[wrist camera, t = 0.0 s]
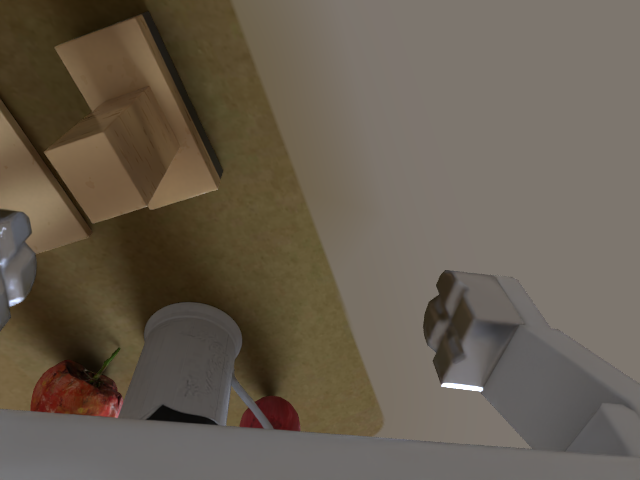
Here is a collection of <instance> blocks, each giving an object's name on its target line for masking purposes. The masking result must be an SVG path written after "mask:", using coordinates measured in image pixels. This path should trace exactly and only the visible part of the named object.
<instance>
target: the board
mask: <svg viewBox="0 0 640 480" xmlns="http://www.w3.org/2000/svg"><path fill="white" fill-rule="evenodd" d="M0 208H1V209H7V210H14V211H20V212H24V213H25V214H26V215H27V216H28V217H29V219H30V224H31V229H32V234H31V235H30V236H29V238H28V239H27V240H26V241H25V242H26V243H27V244H28V246H29V247H30V248H31V249H32V250H33V251H34V252H35V254H37V253H40V252H43V251H47V250H50V249H53V248H56V247H60V246H63V245H66V244H69V243H72V242H76V241H79V240H82V239H85V238H88V237H90V235H91V234H92V231H91V229H90V228H89V226H88V225H87V223H86V222H85V220H84V219H83V217H82V216H81V215H80V213H79V212H78V210H77V209H76V207H75V206H74V204H73V203H72V202H71V200H70V199H69V197H68V196H67V194H66V193H65V191H64V190H63V189H62V187H61V186H60V184H59V183H58V181H57V180H56V178H55V177H54V176H53V174H52V173H51V171H50V170H49V168H48V167H47V165H46V164H45V162H44V161H43V160H42V158H41V157H40V155H39V154H38V152H37V151H36V149H35V148H34V147H33V145H32V144H31V142H30V141H29V139H28V138H27V136H26V135H25V134H24V132H23V131H22V129H21V128H20V126H19V125H18V123H17V122H16V121H15V119H14V118H13V116H12V115H11V113H10V112H9V110H8V109H7V108H6V106H5V105H4V103H3V102H2V100H1V99H0Z"/></svg>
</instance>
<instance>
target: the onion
mask: <svg viewBox="0 0 640 480" xmlns="http://www.w3.org/2000/svg"><path fill="white" fill-rule="evenodd" d="M255 403H256V405H257V406H258V407H259V409H260V410H261V411H262V413H263V414H264V415H265V416H266V418H267V419H268V421H269V422H270V424H271V425H272V426H273V429H276V430H289V431H300V422H299V417H298V414H297V412H296V411H295V409H294V408H293V406H292V405H291V404H290V403H289V402H288V401H286V400H285V399H283V398H281V397H277V396H267V397H263V398H261V399H259V400H257V401H255ZM240 427H249V428H262V429H264V428H263V426H262V425H261V423H260V422H259V420H258V419H257V417H256V416H255V415H254V413H253V412H252V411H251V409H250V408H248V409H247V410H246V411H245V412H244V414H243V416H242V419H241V422H240Z"/></svg>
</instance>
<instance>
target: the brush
mask: <svg viewBox="0 0 640 480" xmlns="http://www.w3.org/2000/svg"><path fill="white" fill-rule="evenodd" d="M55 49H56V51H57V53H58V54H59V56H60V58H61V60H62V61H63V63H64V65H65V66H66V68H67V70H68V71H69V73H70V75H71V76H72V78H73V80H74V82H75V83H76V85H77V87H78V88H79V90H80V92H81V93H82V95H83V97H84V98H85V100H86V102H87V104H88V105H89V107H90V109H91V110H92V112H91V113H90V114H88V115H87V116H86V117H85V118H84V119H82V120H81V121H80V122H79V123H78V124H76V125H75V126H74V127H73V128H72V129H70V130H69V131H68V132H67V133H66V134H64V135H63V136H62V137H61V138H60V139H58V140H57V141H56V142H55V143H54V144H52V145H51V146H50V147H49V148H47V149H46V150H45V151H44V153H45V155H46V156H47V158H48V159H49V161H50V162H51V164H52V165H53V166H54V168H55V169H56V171H57V172H58V174H59V175H60V177H61V178H62V180H63V181H64V183H65V184H66V185H67V187H68V188H69V190H70V191H71V193H72V194H73V196H74V197H75V199H76V200H77V202H78V203H79V205H80V206H81V207H82V209H83V210H84V212H85V213H86V215H87V216H88V218H89V219H90V221H91V222H92V223H97V222H100V221H103V220H106V219H109V218H113V217H116V216H119V215H122V214H125V213H128V212H132V211H135V210H138V209H141V208H144V207H147V206H148V207H149V209H150V210H153V209H156V208H159V207H162V206H166V205H169V204H172V203H175V202H178V201H182V200H185V199H188V198H191V197H194V196H197V195H201V194H204V193H207V192H210V191H213V190H217V189H218V187H219V183H220V179H221V176H222V173H223V170H222V167H221V165H220V163H219V161H218V159H217V157H216V155H215V152H214V150H213V148H212V146H211V144H210V142H209V139H208V137H207V135H206V133H205V131H204V129H203V127H202V124H201V122H200V120H199V118H198V116H197V114H196V112H195V109H194V107H193V105H192V103H191V101H190V99H189V97H188V94H187V92H186V90H185V88H184V86H183V84H182V81H181V79H180V77H179V75H178V73H177V71H176V69H175V66H174V64H173V62H172V60H171V58H170V56H169V54H168V51H167V49H166V47H165V45H164V43H163V41H162V38H161V36H160V34H159V32H158V30H157V28H156V26H155V23H154V21H153V19H152V17H151V15H150V13H149V12H148V11H147V12H144V13H141V14H139V15H136V16H133V17H131V18H128V19H125V20H122V21H120V22H117V23H114V24H112V25H109V26H106V27H104V28H101V29H98V30H95V31H93V32H90V33H87V34H85V35H82V36H79V37H76V38H74V39H72V40H69V41H67V42H65V43H62V44H60V45H57V46H55Z"/></svg>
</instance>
